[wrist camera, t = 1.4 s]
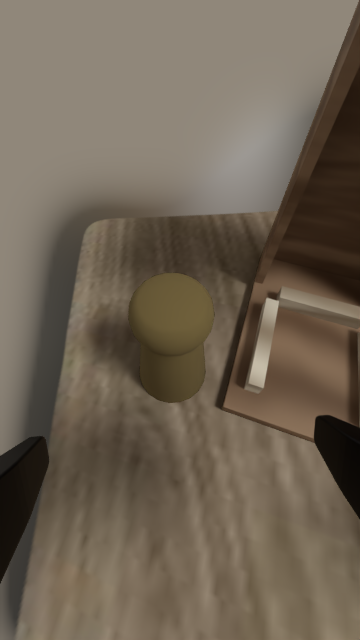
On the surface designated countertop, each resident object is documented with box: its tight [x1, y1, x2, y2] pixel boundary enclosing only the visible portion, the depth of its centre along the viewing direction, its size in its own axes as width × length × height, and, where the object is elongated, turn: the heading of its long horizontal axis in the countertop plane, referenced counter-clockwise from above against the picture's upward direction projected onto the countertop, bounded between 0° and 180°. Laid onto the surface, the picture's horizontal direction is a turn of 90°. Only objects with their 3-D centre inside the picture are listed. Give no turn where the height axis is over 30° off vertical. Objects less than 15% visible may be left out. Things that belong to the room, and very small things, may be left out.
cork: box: [128, 273, 215, 403], centre depth 19 cm, size 6×6×11 cm
